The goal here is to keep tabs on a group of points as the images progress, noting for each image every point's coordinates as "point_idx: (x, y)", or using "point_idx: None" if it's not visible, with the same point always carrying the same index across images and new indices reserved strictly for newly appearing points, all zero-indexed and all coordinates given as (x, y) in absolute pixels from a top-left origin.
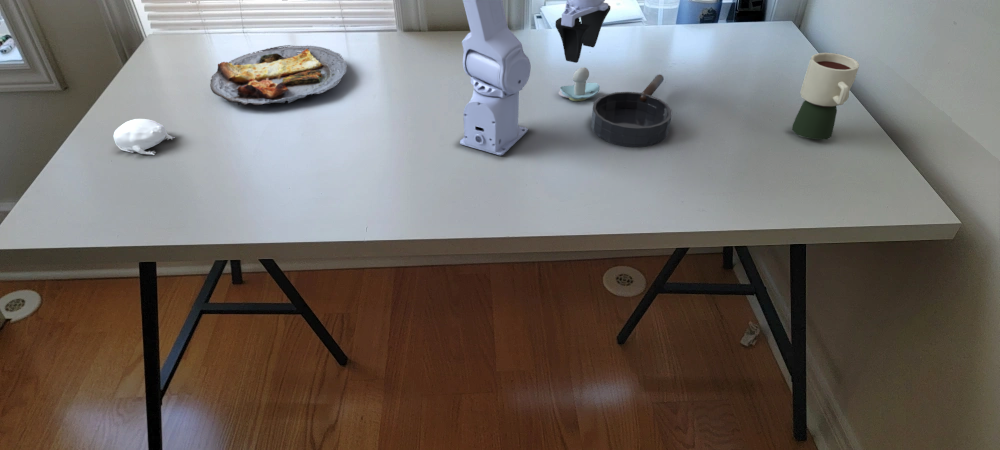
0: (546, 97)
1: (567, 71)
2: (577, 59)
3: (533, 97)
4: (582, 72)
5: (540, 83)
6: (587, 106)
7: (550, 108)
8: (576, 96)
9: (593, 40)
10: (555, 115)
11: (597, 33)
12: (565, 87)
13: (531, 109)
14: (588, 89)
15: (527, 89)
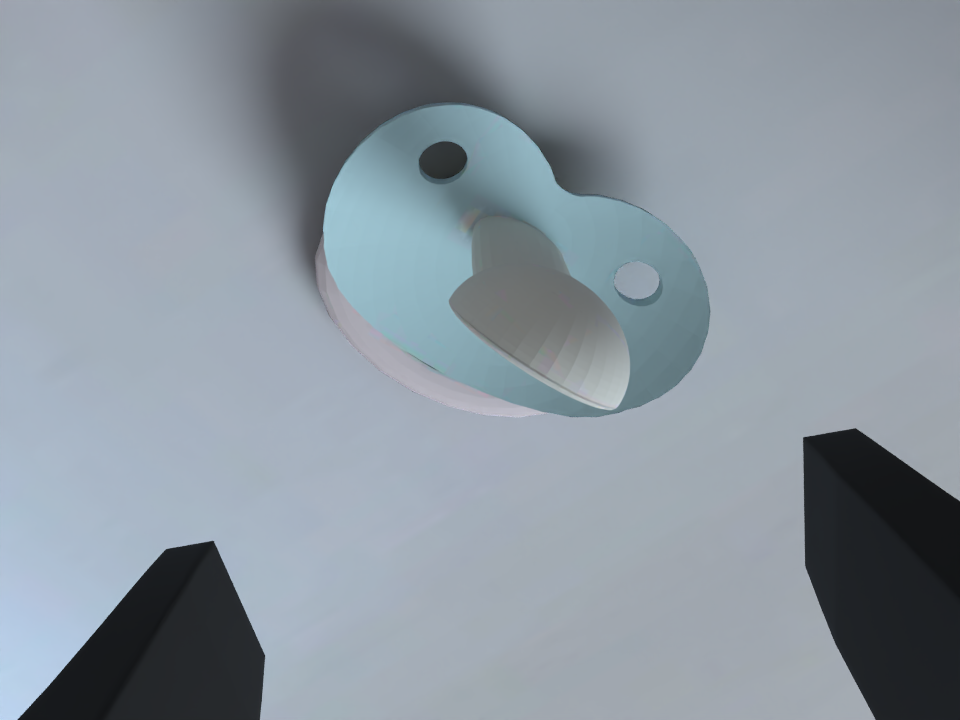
0: (658, 433)
1: None
2: (882, 451)
3: (715, 496)
4: (597, 334)
5: (480, 582)
6: (599, 83)
7: (816, 307)
8: (594, 237)
9: (190, 628)
10: (915, 205)
11: (115, 698)
12: (543, 393)
13: (906, 401)
14: (409, 227)
15: (624, 588)
